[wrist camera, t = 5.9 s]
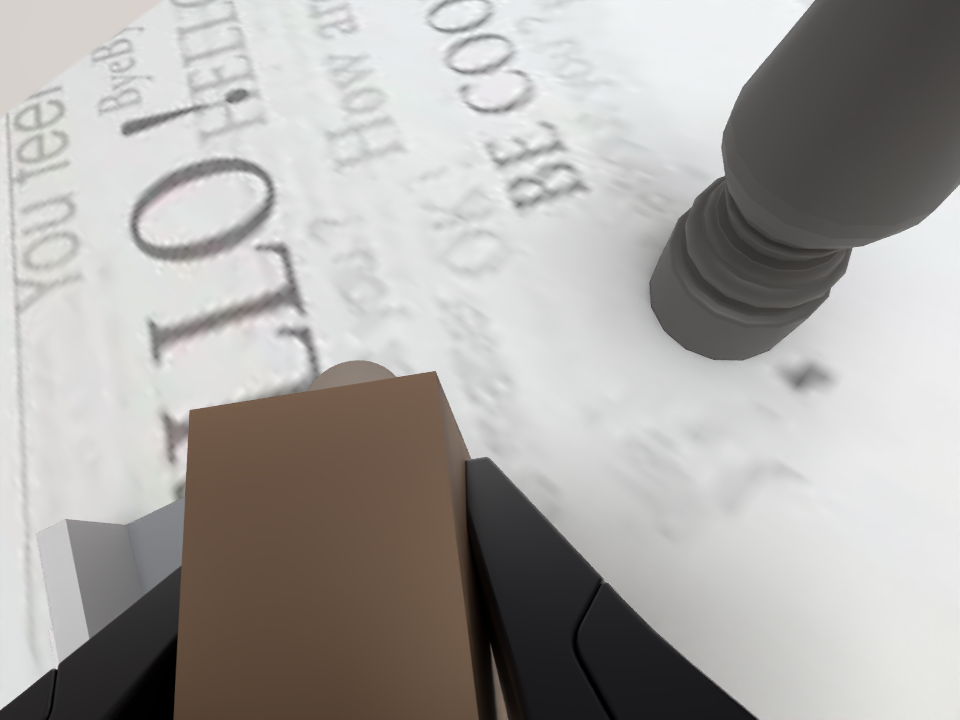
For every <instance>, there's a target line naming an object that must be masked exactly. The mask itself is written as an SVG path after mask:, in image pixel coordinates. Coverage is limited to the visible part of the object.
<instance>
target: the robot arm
mask: <svg viewBox="0 0 960 720" xmlns="http://www.w3.org/2000/svg"><path fill="white" fill-rule="evenodd" d="M465 479H466V520H467V529H468V534H469V539H470V544H471V549H472V554H473V559H474V564H475V569H476V574H477V579H478V584H479V589H480V594H481V599H482V604H483V609H484V614H485V619H486V624H487V630H488V635H489V640H490V644H491V648H492V653H493V657H494V661H495V665H496V669H497V674H498V678H499V682H500V686H501V691H502V695H503V699H504V703H505V708H506V712H507V716H508V720H759V719H758V718H757V717H756V716H755V715H753V714H752V713H751V712H750V711H749V710H747V709H746V708H745V707H744V706H743V705H741V704H740V703H739V702H738V701H737V700H735V699H734V698H733V697H732V696H731V695H729V694H728V693H727V692H726V691H725V690H723V689H722V688H721V687H720V686H719V685H717V684H716V683H715V682H714V681H713V680H711V679H710V678H709V677H708V676H706V675H705V674H704V673H703V672H702V671H700V670H699V669H698V668H697V667H696V666H694V665H693V664H692V663H691V662H690V661H689V660H688V659H686V658H685V657H684V656H683V655H682V654H681V653H680V652H678V651H677V650H676V649H675V648H674V647H673V646H672V645H670V644H669V643H668V642H667V641H666V640H665V639H664V638H662V637H661V636H660V635H659V634H658V633H657V632H656V631H655V630H654V629H652V628H651V627H650V626H649V625H648V624H647V623H646V622H645V621H644V620H643V619H642V618H641V617H640V616H639V615H638V614H637V613H636V612H635V611H634V610H633V609H632V608H631V607H630V606H629V605H628V604H627V603H626V602H625V601H624V600H623V599H622V597H621V596H620V595H619V594H618V593H617V592H616V591H615V590H614V589H613V588H612V587H611V586H610V585H609V584H608V583H606V582H604V579H603V578H602V577H601V576H600V574H599V573H598V572H597V571H596V570H595V569H594V568H593V567H592V566H591V565H590V564H589V563H588V562H587V561H586V560H585V559H584V558H583V556H582V555H581V554H580V553H579V552H578V551H577V550H576V549H575V548H574V547H573V546H572V545H571V544H570V543H569V542H568V541H567V540H566V538H565V537H564V536H563V535H562V534H561V533H560V532H559V531H558V530H557V529H556V528H555V527H554V526H553V525H552V524H551V523H550V522H549V520H548V519H547V518H546V517H545V516H544V515H543V514H542V513H541V512H540V511H539V510H538V509H537V508H536V507H535V506H534V505H533V504H532V502H531V501H530V500H529V499H528V498H527V497H526V496H525V495H524V494H523V493H522V492H521V491H520V490H519V489H518V488H517V487H516V485H515V484H514V483H513V482H512V481H511V480H510V479H509V478H508V477H507V476H506V475H505V474H504V473H503V472H502V471H501V470H500V469H499V467H498V466H497V465H496V464H495V463H494V462H493V461H492V460H491V459H490V458H488V457H483V458H477V459H471V460H466V461H465ZM181 567H182V565H181V566H179V567H178V568H177V569H176V570H174V571H173V572H172V573H171V574H169V575H168V576H167V577H166V578H164V579H163V580H162V581H161V582H159V583H158V584H157V585H156V586H154V587H153V588H152V589H151V590H149V591H148V592H147V593H146V594H145V595H143V596H142V597H141V598H140V599H138V600H137V601H136V602H135V603H133V604H132V605H131V606H130V607H128V608H127V609H126V610H125V611H123V612H122V613H121V614H120V615H118V616H117V617H116V618H115V619H114V620H112V621H111V622H110V623H109V624H107V625H106V626H105V627H104V628H102V629H101V630H100V631H99V632H97V633H96V634H95V635H94V636H92V637H91V638H90V639H89V640H87V641H86V642H85V643H84V644H83V645H81V646H80V647H79V648H78V649H76V650H75V651H74V652H73V653H71V654H70V655H69V656H68V657H66V658H65V659H64V660H63V661H61V662H60V663H59V665H58V669H52V670H50V671H49V672H47V673H46V674H45V675H44V676H43V677H41V678H40V679H39V680H38V681H36V682H35V683H34V684H33V685H32V686H30V687H29V688H28V689H27V690H25V691H24V692H23V693H22V694H20V695H19V696H18V697H17V698H15V699H14V700H13V701H12V702H10V703H9V704H8V705H6V706H5V707H4V708H3V709H1V710H0V720H173V719H174V700H175V681H176V662H177V643H178V624H179V605H180V586H181Z"/></svg>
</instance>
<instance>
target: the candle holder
mask: <svg viewBox="0 0 960 720" xmlns="http://www.w3.org/2000/svg"><path fill="white" fill-rule="evenodd" d="M721 148H722V156H723V163H724V170H725V176H724V177H721V178H718V179H717V180H716V181H714V182H713V183H712V184H711V185H710V186H709V187H708V188H707V189H705V190H704V191H703V192H702V193H701V194H700V195H699V196H698V197H696V199H695V201H694V203H693V206H692V207H691V208H690V209H689V210H688V211H687V212H686V213H685V214H683V215H682V216H681V217H680V218H679V219H678V221H677V223H676V225H675V227H674V230H673V232H672V234H671V236H670V238H669V240H668V242H667V244H666V246H665V248H664V251H663V253H662V255H661V257H660V259H659V261H658V263H657V266H656V268H655V271H654V273H653V276H652V278H651V281H650V294H651V307H652V309H653V311H654V313H655V314H656V316H657V318H658V320H659V322H660V324H661V326H662V327H663V329H664V331H665V332H667V333H668V334H669V335H670V336H671V337H673V338H674V339H675V340H676V341H677V342H678V343H680V344H681V345H682V346H683V347H684V348H685V349H688V350H690V351H693V352H695V353H698V354H701V355H703V356H706V357H708V358H711V359H714V360H745V359H748V358H750V357H753V356H756V355H758V354H761V353H764V352H766V351H769V350H770V349H771V348H773V347H774V346H775V345H776V344H777V343H779V342H780V341H781V340H782V339H783V338H785V337H786V336H787V335H788V334H789V333H791V332H792V331H793V330H794V329H795V328H797V327H798V326H799V325H800V324H801V323H803V322H804V321H805V320H806V319H807V318H808V317H809V316H810V315H811V314H812V313H813V312H814V311H815V310H816V309H817V308H818V307H819V306H820V305H821V304H822V303H823V302H824V301H825V300H826V299H827V298H828V297H829V293H830V290H831V287H832V286H833V285H834V284H835V283H836V282H837V281H838V280H839V279H840V278H841V277H842V276H843V275H844V274H845V272H846V269H847V266H848V262H849V258H850V255H851V251H852V248H853V247H859V246H864V245H867V244H870V243H872V242H875V241H878V240H881V239H883V238H886V237H889V236H892V235H894V234H897V233H900V232H902V231H904V230H906V229H909V228H911V227H913V226H915V225H918V224H919V223H920V222H921V221H923V220H924V219H925V218H926V217H927V216H928V215H930V214H931V213H932V212H933V211H934V210H935V209H936V208H937V207H938V206H939V205H940V204H941V203H942V202H943V201H944V200H945V199H946V198H947V197H948V196H949V195H950V194H951V193H952V192H953V191H954V190H955V189H956V188H957V187H958V186H959V185H960V0H815V1H814V2H813V4H812V5H811V6H810V7H809V8H808V10H807V11H806V12H805V13H804V14H803V16H802V17H801V18H800V19H799V21H798V22H797V23H796V24H795V25H794V27H793V28H792V29H791V30H790V31H789V33H788V34H787V35H786V36H785V37H784V39H783V40H782V41H781V42H780V43H779V44H778V46H777V47H776V48H775V49H774V50H773V52H772V53H771V54H770V55H769V56H768V58H767V59H766V60H765V61H764V62H763V64H762V65H761V66H760V67H759V68H758V69H757V71H756V72H755V73H754V74H753V75H752V77H751V78H750V79H749V80H748V81H747V83H746V84H745V85H744V86H743V88H742V90H741V92H740V94H739V96H738V98H737V100H736V102H735V105H734V107H733V110H732V112H731V115H730V117H729V120H728V122H727V125H726V127H725V130H724V132H723V139H722V147H721Z"/></svg>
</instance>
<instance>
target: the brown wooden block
mask: <svg viewBox="0 0 960 720" xmlns="http://www.w3.org/2000/svg"><path fill="white" fill-rule="evenodd" d="M466 460H471V457H470V455H469V452H468V450H467V448H466V445H465V443H464V440H463V438H462V435H461V433H460V430H459V428H458V425H457V423H456V420H455V418H454V415H453V413H452V411H451V408H450V406H449V403H448V401H447V398H446V396H445V393H444V391H443V388H442V386H441V383H440V381H439V379H438V376H437V374H436V371H433V372H427V373H421V374H414V375H408V376H402V377H396V376H395V375H394V374H393V373H392V372H390V371H389V370H388V369H386V368H385V367H383V366H381V365H379V364H376V363H373V362H369V361H348V362H344V363H341V364H338V365H335V366H333V367H331V368H329V369H328V370H326V371H325V372H323V373H322V374H321V375H320V376H318V378H317V379H316V380H315V381H314V382H313V383H312V384H311V385H310V387H309V388H308V390H307V392H301V393H295V394H288V395H282V396H276V397H269V398H263V399H257V400H251V401H244V402H238V403H232V404H225V405H219V406H213V407H207V408H200V409H194V410H190V415H189V434H188V453H187V472H186V491H185V510H184V529H183V548H182V567H181V586H180V605H179V624H178V643H177V662H176V681H175V700H174V719H173V720H507V712H506V708H505V703H504V699H503V695H502V691H501V686H500V682H499V678H498V674H497V669H496V665H495V661H494V657H493V653H492V648H491V644H490V640H489V635H488V630H487V624H486V619H485V614H484V609H483V604H482V599H481V594H480V589H479V584H478V579H477V574H476V569H475V564H474V559H473V554H472V549H471V544H470V539H469V534H468V529H467V520H466V479H465V461H466Z"/></svg>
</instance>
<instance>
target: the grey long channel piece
mask: <svg viewBox="0 0 960 720" xmlns="http://www.w3.org/2000/svg"><path fill="white" fill-rule="evenodd" d="M184 510H185V497H183V498H181V499H179V500H177V501H175V502H173V503H171V504H169V505H167V506H165V507H163V508H161V509H158V510H156V511H154V512H152V513H150V514H148V515H146V516H144V517H142V518H140V519H138V520H136V521H134V522H132V523H130V524H128V525H120V524H110V523H99V522H89V521H79V520H69V519H65V520H63V521H61V522H59V523H57V524H54V525H52V526H50V527H48V528H46V529H44V530H42V531H40V532H38V533H36V537H37V542H38V548H39V554H40V559H41V565H42V571H43V576H44V582H45V588H46V593H47V599H48V604H49V610H50V616H51V621H52V627H53V629H52V630H50V631H49V636H50V642H51V648H52V653H53V659H54V665H55V669H58V665H59V663H60V662H61V661H63V660H64V659H65V658H66V657H68V656H69V655H70V654H71V653H73V652H74V651H75V650H76V649H78V648H79V647H80V646H81V645H83V644H84V643H85V642H86V641H87V640H89V639H90V638H91V637H92V636H94V635H95V634H96V633H97V632H99V631H100V630H101V629H102V628H104V627H105V626H106V625H107V624H109V623H110V622H111V621H112V620H114V619H115V618H116V617H117V616H118V615H120V614H121V613H122V612H123V611H125V610H126V609H127V608H128V607H130V606H131V605H132V604H133V603H135V602H136V601H137V600H138V599H140V598H141V597H142V596H143V595H145V594H146V593H147V592H148V591H149V590H151V589H152V588H153V587H154V586H156V585H157V584H158V583H159V582H161V581H162V580H163V579H164V578H166V577H167V576H168V575H169V574H171V573H172V572H173V571H174V570H176V569H177V568H178V567H179V566H181V565H182V548H183V529H184Z"/></svg>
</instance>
